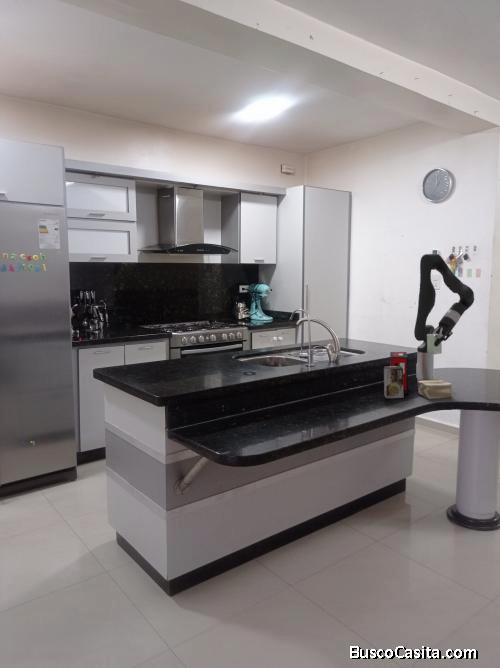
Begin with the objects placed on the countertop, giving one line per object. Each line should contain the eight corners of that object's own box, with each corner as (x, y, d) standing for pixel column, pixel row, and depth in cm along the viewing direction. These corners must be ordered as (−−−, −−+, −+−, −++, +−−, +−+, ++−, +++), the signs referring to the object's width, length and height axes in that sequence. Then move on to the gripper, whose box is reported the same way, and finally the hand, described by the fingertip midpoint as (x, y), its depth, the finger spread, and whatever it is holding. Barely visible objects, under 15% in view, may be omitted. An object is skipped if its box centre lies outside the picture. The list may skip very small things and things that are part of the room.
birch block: (417, 393, 262) (417, 381, 261) (438, 391, 264) (439, 379, 263) (429, 399, 250) (429, 386, 249) (452, 397, 252) (452, 384, 251)
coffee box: (401, 395, 260) (401, 365, 258) (403, 398, 254) (403, 367, 252) (383, 395, 261) (383, 366, 259) (386, 398, 254) (385, 368, 252)
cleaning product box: (407, 393, 263) (407, 357, 260) (390, 393, 265) (390, 357, 262) (406, 386, 278) (406, 352, 276) (390, 386, 281) (390, 352, 278)
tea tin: (427, 353, 256) (426, 334, 254) (434, 352, 257) (434, 333, 256) (433, 354, 251) (433, 335, 249) (441, 353, 252) (441, 334, 251)
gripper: (435, 314, 261) (418, 338, 258) (455, 316, 248) (437, 342, 245) (443, 323, 263) (426, 347, 261) (463, 325, 250) (445, 351, 247)
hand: (431, 344), depth 253 cm, fingers closed on tea tin, 5 cm apart
